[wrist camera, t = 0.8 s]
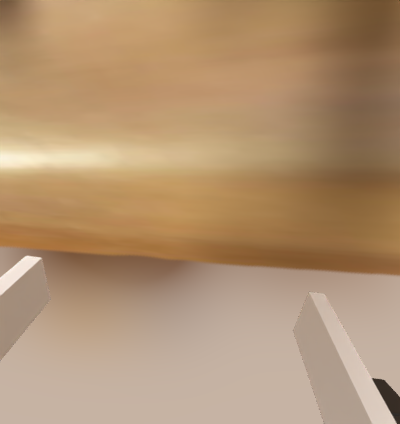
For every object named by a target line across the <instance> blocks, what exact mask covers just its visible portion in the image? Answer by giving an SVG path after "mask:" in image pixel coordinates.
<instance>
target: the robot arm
mask: <svg viewBox="0 0 400 424" xmlns="http://www.w3.org/2000/svg"><path fill="white" fill-rule="evenodd" d="M50 300H51V297H50V293H49V288H48V284H47V279H46V275H45V271H44V266H43V261H42V258H39V257H31V256H26V257H24V258H23V259H22V260H21V261H20V262H18V263H17V264H16V265H15V266H14V267H12V268H11V269H10V270H9V271H8V272H6V273H5V274H4V275H3V276H2V277H0V361H1V360H2V358H3V357H4V356H5V355H6V353H7V352H8V351H9V350H10V349H11V347H12V346H13V345H14V343H15V342H16V341H17V340H18V339H19V337H20V336H21V335H22V334H23V333H24V332H25V330H26V329H27V328H28V326H29V325H30V324H31V323H32V322H33V321H34V319H35V318H36V317H37V316H38V314H39V313H40V312H41V311H42V309H43V308H44V307H45V306H46V304H47V303H48V302H49V301H50ZM293 331H294V334H295V337H296V340H297V344H298V346H299V350H300V353H301V356H302V359H303V362H304V364H305V367H306V370H307V373H308V377H309V380H310V383H311V386H312V389H313V392H314V395H315V398H316V401H317V404H318V407H319V410H320V413H321V415H322V419H323V422H324V424H400V397H399V396H398V394H397V393H396V392H395V391H394V390H393V389H392V388H391V387H390V386H389V385H388V384H387V383H386V382H385V380H382V379H374V378H371V376H370V375H369V373H368V371H367V369H366V367H365V366H364V364H363V362H362V360H361V358H360V357H359V355H358V353H357V351H356V349H355V348H354V346H353V344H352V342H351V340H350V339H349V337H348V335H347V333H346V331H345V330H344V328H343V326H342V324H341V322H340V321H339V319H338V317H337V315H336V313H335V312H334V310H333V308H332V306H331V304H330V303H329V301H328V299H327V297H326V295H325V294H322V293H315V292H309V293H308V295H307V298H306V300H305V303H304V305H303V307H302V310H301V312H300V315H299V318H298V320H297V322H296V325H295V327H294V330H293Z"/></svg>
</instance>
